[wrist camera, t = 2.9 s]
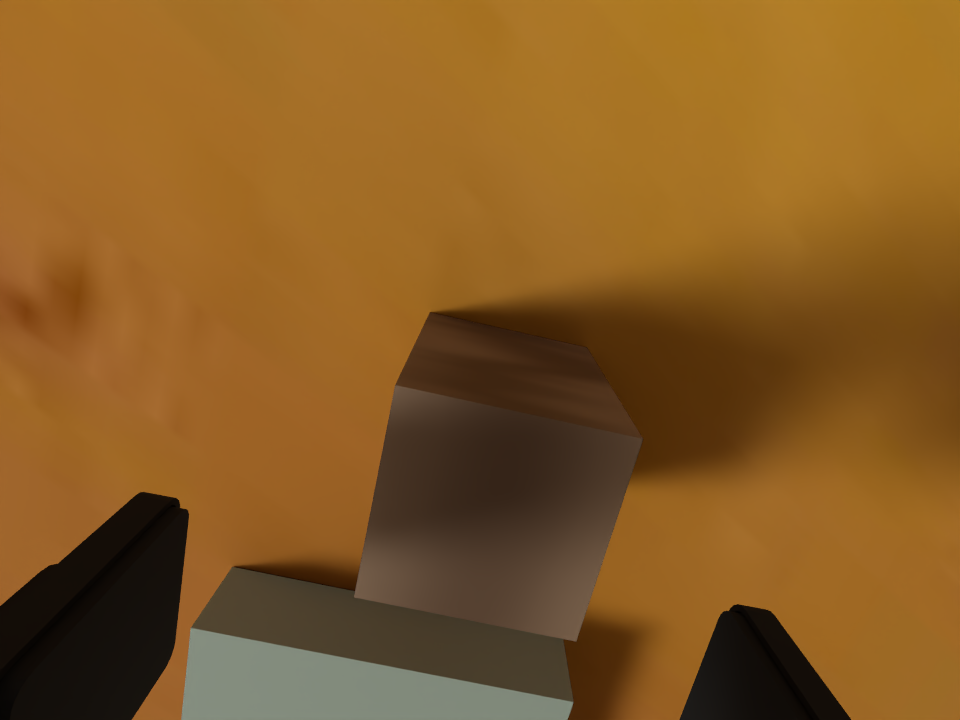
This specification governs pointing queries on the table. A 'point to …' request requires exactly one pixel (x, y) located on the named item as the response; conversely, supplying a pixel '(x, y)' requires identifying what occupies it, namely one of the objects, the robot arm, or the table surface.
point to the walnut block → (497, 480)
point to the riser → (361, 660)
